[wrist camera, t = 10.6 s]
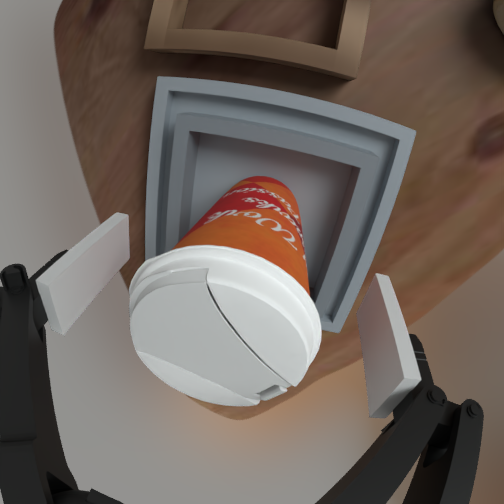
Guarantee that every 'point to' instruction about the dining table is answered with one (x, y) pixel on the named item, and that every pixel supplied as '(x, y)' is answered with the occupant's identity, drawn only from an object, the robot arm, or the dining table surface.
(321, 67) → the walnut collar
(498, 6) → the ceramic mug
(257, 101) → the grey tray
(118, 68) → the dining table surface
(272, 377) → the paper cup
